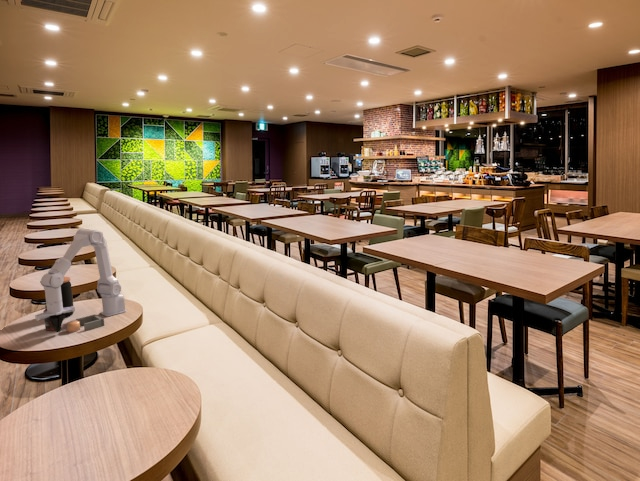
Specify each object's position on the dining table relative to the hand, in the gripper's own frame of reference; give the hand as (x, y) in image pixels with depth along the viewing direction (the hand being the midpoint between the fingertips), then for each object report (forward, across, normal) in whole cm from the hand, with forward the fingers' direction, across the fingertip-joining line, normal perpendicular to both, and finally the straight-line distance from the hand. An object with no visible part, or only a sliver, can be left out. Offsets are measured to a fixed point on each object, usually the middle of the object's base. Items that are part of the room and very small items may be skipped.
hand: (57, 331), depth 180 cm
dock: (+1, +13, 0) cm, 13 cm away
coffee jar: (+2, +10, +24) cm, 26 cm away
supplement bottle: (+2, +1, +9) cm, 9 cm away
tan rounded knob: (+2, +6, 0) cm, 6 cm away
